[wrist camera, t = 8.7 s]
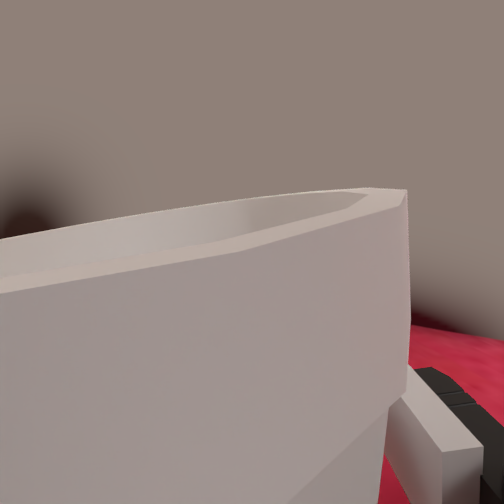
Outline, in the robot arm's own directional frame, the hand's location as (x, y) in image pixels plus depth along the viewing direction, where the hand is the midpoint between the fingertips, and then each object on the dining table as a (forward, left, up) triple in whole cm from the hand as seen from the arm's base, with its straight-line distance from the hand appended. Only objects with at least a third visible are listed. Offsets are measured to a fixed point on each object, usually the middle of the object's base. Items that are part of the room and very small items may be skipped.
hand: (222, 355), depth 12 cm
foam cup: (0, +4, -7) cm, 8 cm away
